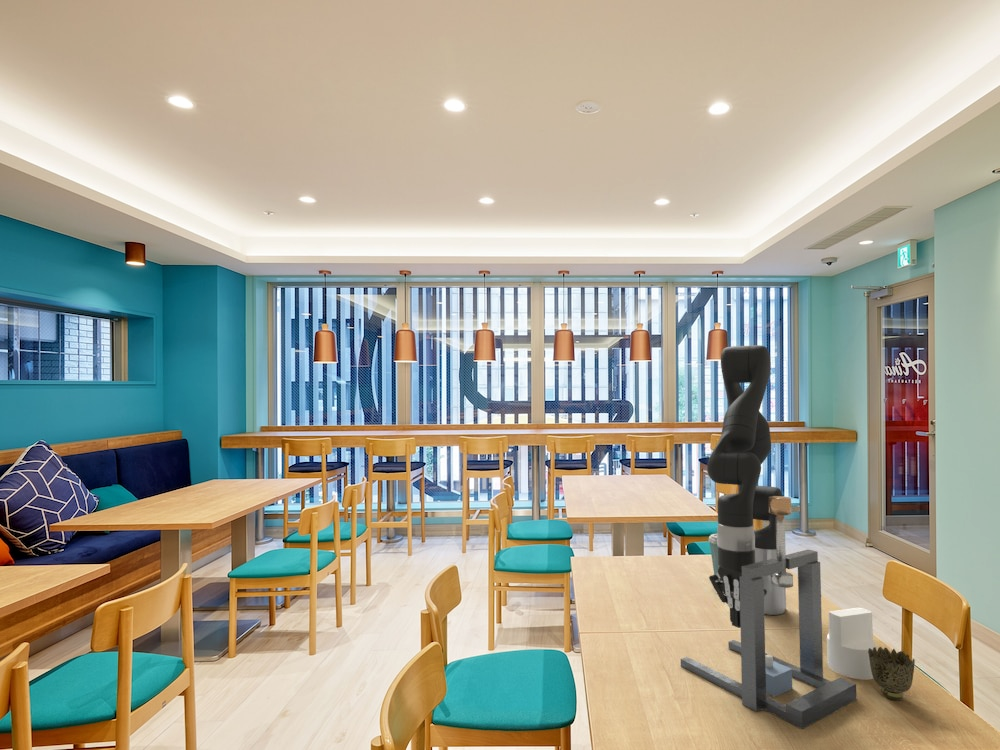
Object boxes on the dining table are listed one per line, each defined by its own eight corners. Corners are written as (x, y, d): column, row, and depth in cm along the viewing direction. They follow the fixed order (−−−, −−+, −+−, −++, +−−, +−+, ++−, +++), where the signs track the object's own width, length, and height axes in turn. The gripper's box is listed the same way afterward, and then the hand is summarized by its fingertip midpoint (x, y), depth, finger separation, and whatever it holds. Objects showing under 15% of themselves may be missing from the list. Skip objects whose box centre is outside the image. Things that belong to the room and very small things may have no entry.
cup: (924, 709, 105) (922, 665, 105) (879, 705, 106) (878, 662, 106) (903, 688, 112) (902, 647, 112) (862, 685, 113) (861, 644, 114)
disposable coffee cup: (701, 580, 177) (700, 532, 178) (726, 575, 182) (725, 528, 182) (727, 591, 167) (726, 540, 168) (753, 585, 172) (752, 536, 172)
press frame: (739, 644, 132) (737, 532, 133) (862, 696, 109) (858, 561, 110) (674, 668, 121) (672, 546, 122) (795, 732, 98) (791, 581, 99)
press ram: (778, 579, 114) (776, 495, 115) (797, 585, 111) (795, 498, 112) (766, 583, 112) (764, 497, 113) (785, 589, 109) (783, 500, 110)
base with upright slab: (853, 682, 115) (851, 622, 115) (817, 662, 123) (816, 606, 124) (887, 676, 117) (886, 617, 117) (850, 656, 126) (848, 602, 126)
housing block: (764, 676, 118) (764, 647, 118) (792, 689, 112) (791, 658, 113) (746, 684, 114) (746, 654, 115) (774, 697, 109) (773, 666, 109)
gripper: (775, 549, 117) (777, 633, 117) (720, 535, 128) (722, 611, 128) (753, 555, 113) (755, 642, 113) (698, 540, 125) (700, 619, 124)
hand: (737, 625), depth 121 cm, fingers closed
